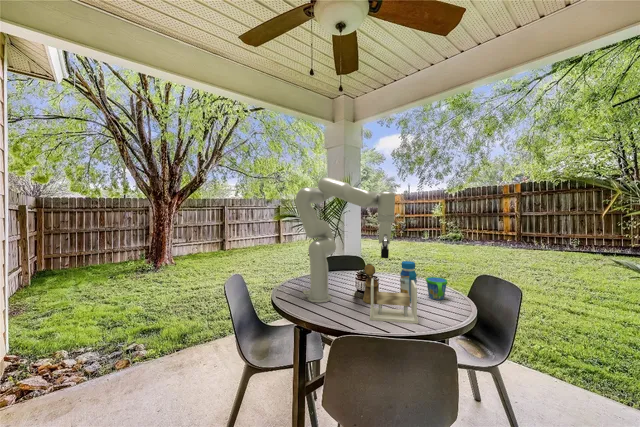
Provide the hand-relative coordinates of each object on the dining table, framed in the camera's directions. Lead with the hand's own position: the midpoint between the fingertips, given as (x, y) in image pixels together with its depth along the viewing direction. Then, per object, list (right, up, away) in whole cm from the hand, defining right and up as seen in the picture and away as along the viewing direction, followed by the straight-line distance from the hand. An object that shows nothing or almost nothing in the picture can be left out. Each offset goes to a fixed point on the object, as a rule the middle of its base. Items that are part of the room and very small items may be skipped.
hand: (384, 256), depth 129 cm
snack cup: (+32, -26, +21) cm, 46 cm away
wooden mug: (-3, -26, +19) cm, 32 cm away
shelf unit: (+3, -26, -4) cm, 27 cm away
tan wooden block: (+3, -20, -4) cm, 21 cm away
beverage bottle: (+17, -26, +18) cm, 36 cm away
